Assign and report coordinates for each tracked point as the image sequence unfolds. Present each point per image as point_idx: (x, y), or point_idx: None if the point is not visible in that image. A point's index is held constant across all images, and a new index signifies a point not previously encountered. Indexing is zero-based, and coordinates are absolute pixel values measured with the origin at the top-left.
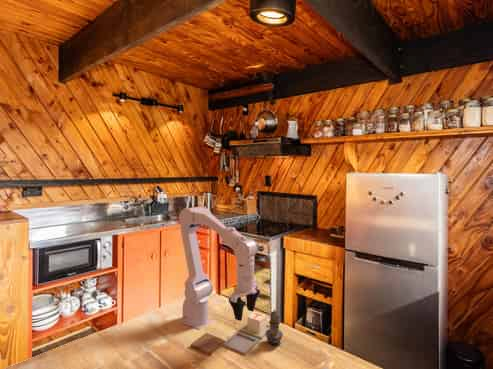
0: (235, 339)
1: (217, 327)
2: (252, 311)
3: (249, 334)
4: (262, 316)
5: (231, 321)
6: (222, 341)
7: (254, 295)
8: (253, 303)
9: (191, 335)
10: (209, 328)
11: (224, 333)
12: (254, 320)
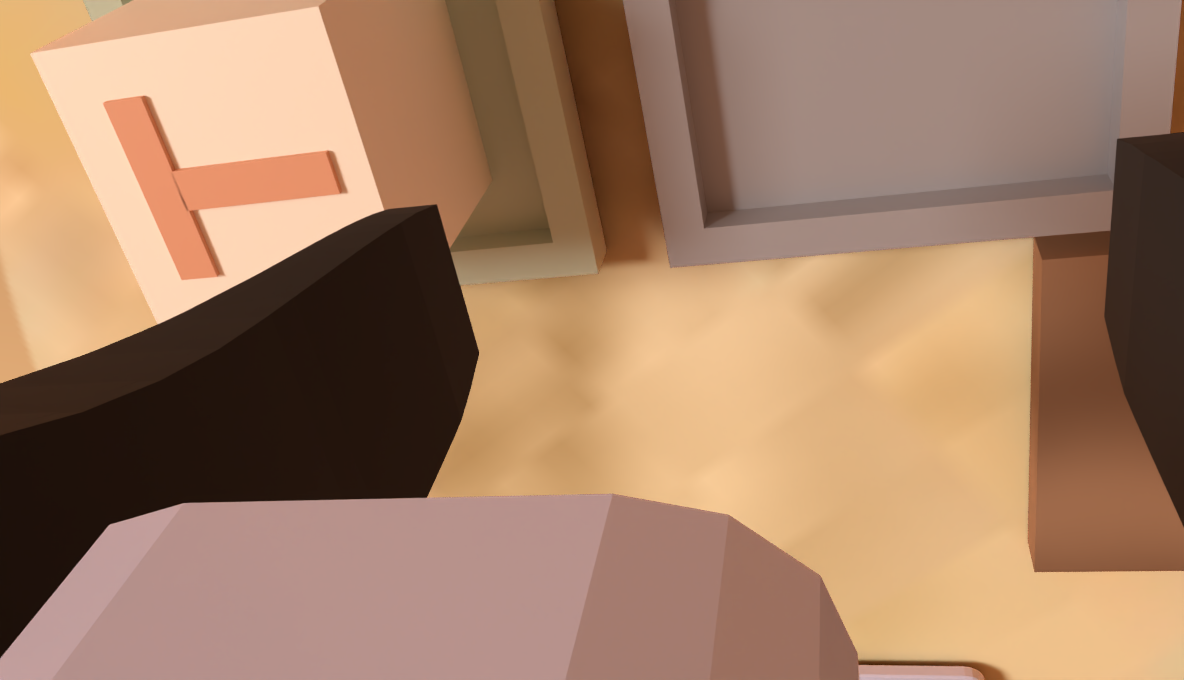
0: (852, 159)
1: None
2: (434, 206)
3: (564, 70)
4: (144, 81)
5: (493, 493)
6: (1102, 265)
7: (120, 516)
8: (316, 322)
9: (1148, 669)
10: (849, 601)
11: (808, 393)
12: (376, 132)
